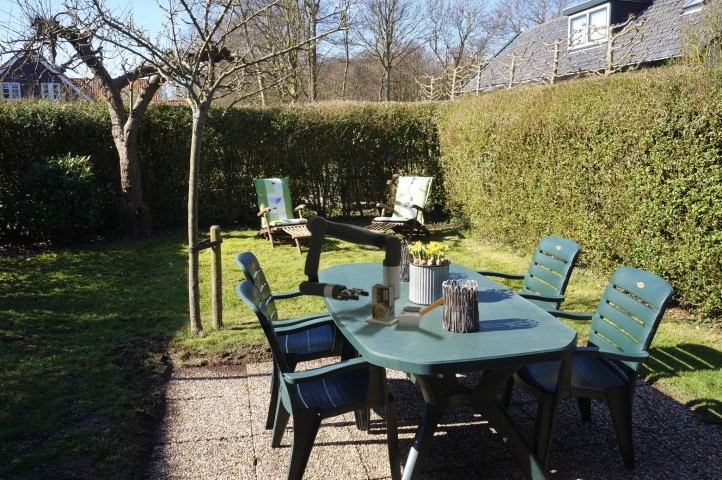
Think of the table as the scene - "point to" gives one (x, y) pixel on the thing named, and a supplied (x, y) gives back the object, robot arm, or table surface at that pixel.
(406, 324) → the silver box
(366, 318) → the white shallow tray
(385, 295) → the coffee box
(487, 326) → the table surface
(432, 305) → the lever
